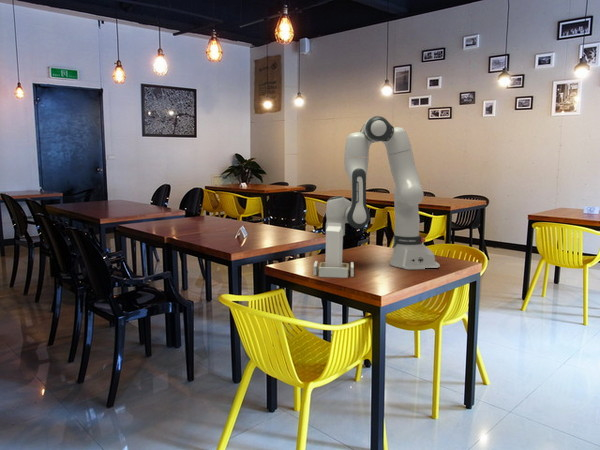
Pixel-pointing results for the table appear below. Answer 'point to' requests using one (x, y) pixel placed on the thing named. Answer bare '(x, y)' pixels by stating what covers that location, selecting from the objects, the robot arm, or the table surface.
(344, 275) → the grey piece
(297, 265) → the table surface
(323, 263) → the frame
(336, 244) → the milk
